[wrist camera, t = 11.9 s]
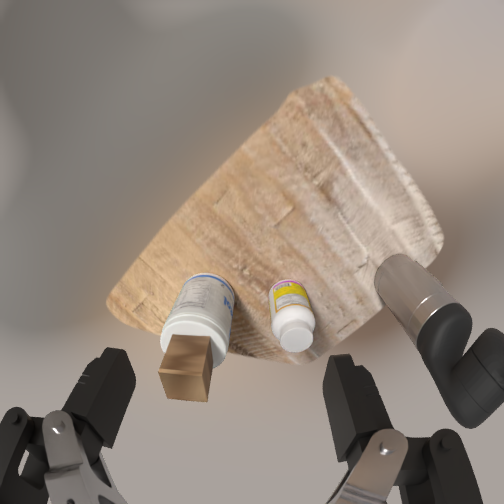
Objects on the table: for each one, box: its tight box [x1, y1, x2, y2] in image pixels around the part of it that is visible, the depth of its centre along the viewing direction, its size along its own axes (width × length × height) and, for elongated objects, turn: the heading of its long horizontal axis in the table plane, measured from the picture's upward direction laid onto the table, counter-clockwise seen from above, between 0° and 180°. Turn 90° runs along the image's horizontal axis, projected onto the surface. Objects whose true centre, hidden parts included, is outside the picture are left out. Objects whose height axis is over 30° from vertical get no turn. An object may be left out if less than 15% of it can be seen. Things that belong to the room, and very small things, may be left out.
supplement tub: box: [160, 273, 235, 368], centre depth 41 cm, size 10×10×15 cm
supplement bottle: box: [269, 279, 315, 353], centre depth 42 cm, size 7×7×13 cm
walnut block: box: [158, 334, 213, 402], centre depth 31 cm, size 5×5×7 cm
